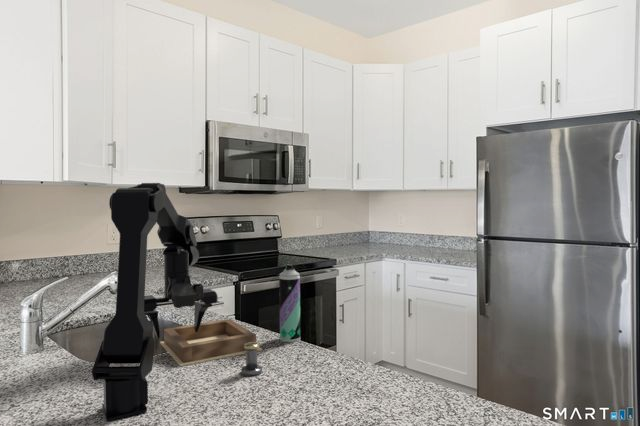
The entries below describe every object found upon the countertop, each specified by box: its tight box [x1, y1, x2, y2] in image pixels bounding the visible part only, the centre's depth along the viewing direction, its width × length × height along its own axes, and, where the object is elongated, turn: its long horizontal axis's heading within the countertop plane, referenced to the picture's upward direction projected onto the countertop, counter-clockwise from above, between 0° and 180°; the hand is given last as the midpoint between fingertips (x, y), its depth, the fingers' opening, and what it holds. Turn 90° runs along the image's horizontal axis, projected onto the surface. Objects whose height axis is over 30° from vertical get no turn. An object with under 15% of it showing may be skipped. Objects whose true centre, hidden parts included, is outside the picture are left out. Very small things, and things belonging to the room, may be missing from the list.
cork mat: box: [159, 334, 263, 367], centre depth 114 cm, size 20×20×1 cm
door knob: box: [240, 341, 263, 377], centre depth 96 cm, size 4×4×6 cm
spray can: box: [278, 264, 301, 343], centre depth 119 cm, size 6×6×20 cm
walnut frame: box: [163, 318, 257, 363], centre depth 113 cm, size 18×18×4 cm
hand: (177, 334), depth 109 cm, fingers open, 9 cm apart
